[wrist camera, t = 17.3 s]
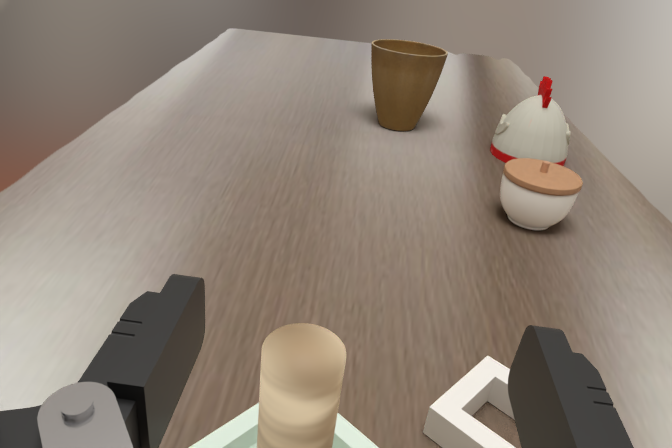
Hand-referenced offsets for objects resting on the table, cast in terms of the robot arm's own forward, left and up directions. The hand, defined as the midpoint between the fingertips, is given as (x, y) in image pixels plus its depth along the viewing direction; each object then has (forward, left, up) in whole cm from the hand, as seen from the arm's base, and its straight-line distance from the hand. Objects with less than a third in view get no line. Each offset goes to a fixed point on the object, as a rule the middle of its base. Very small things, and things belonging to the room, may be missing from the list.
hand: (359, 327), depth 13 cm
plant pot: (+80, +58, -27) cm, 102 cm away
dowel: (+7, +8, -26) cm, 28 cm away
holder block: (+25, +3, -27) cm, 37 cm away
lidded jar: (+64, +20, -27) cm, 72 cm away
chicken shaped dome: (+89, +33, -27) cm, 98 cm away
